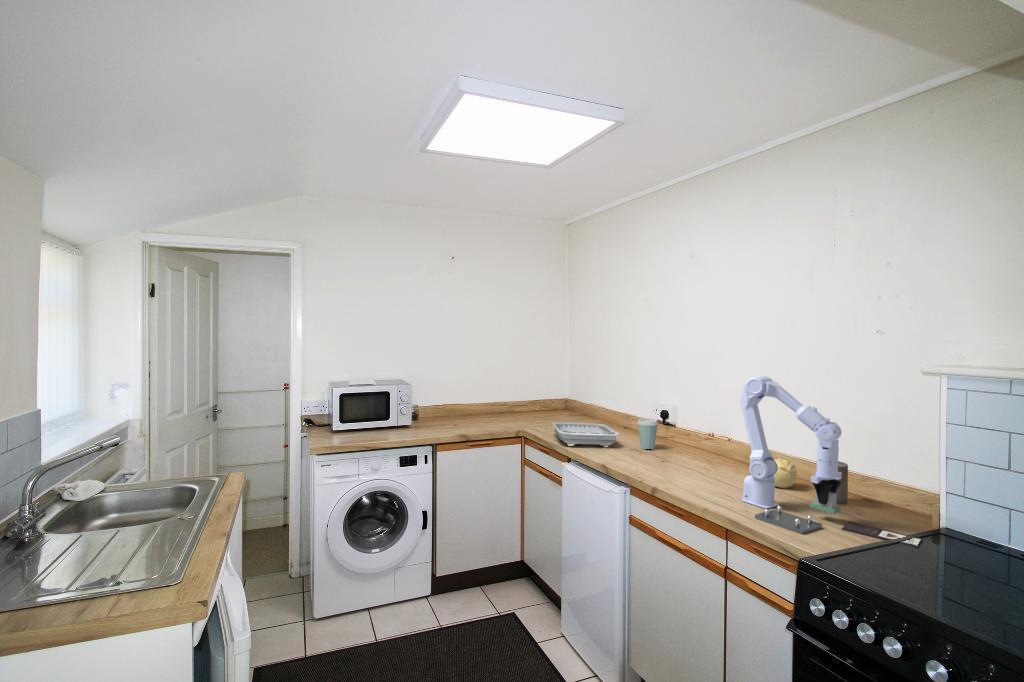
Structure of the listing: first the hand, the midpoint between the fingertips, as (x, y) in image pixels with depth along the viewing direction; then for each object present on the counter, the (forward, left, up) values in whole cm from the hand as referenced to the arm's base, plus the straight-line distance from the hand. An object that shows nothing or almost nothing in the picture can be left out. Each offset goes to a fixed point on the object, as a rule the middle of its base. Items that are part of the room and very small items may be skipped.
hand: (825, 502), depth 167 cm
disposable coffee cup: (-101, +25, -6) cm, 104 cm away
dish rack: (-129, +7, -6) cm, 129 cm away
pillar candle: (-10, +23, -6) cm, 26 cm away
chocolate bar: (+15, +2, -6) cm, 16 cm away
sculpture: (-30, +24, -6) cm, 39 cm away
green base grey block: (0, 0, -2) cm, 2 cm away
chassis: (-4, -14, -5) cm, 16 cm away
